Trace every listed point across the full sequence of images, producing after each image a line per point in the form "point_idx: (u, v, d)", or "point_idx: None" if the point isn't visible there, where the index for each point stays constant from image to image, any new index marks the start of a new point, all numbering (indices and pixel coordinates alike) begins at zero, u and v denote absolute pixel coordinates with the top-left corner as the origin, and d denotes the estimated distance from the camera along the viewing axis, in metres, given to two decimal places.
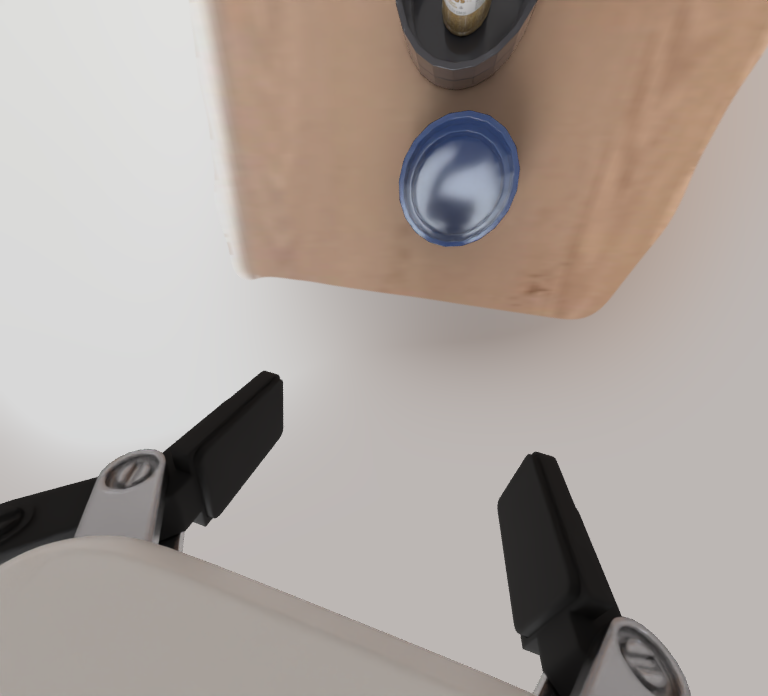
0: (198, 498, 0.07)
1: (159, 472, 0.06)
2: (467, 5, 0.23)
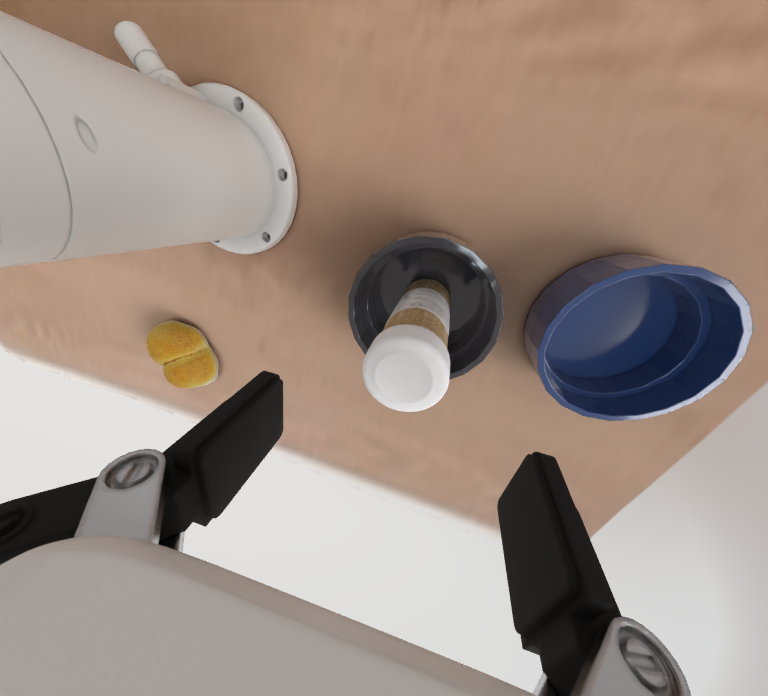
0: (198, 498, 0.07)
1: (159, 472, 0.06)
2: None
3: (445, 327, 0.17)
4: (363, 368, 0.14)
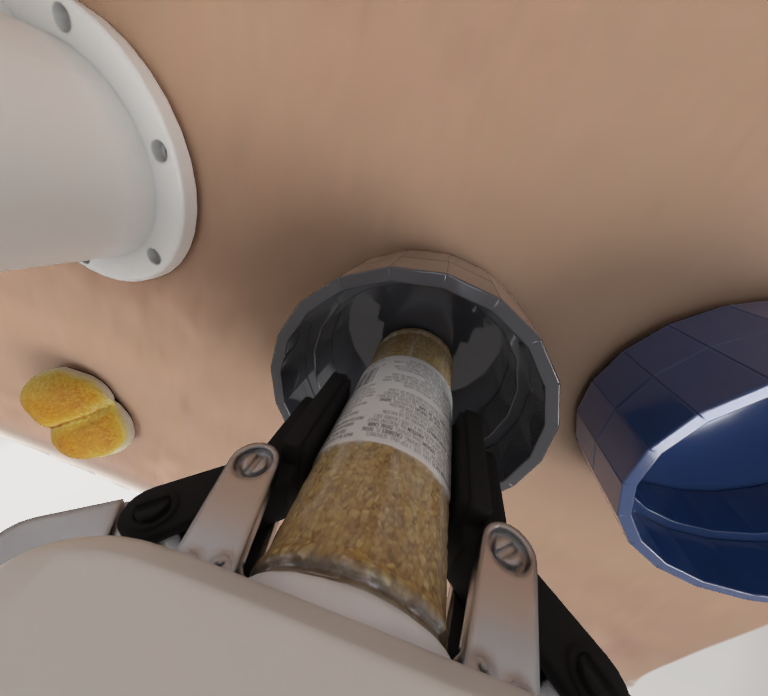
0: (296, 488, 0.08)
1: (276, 463, 0.07)
2: None
3: (443, 487, 0.07)
4: None
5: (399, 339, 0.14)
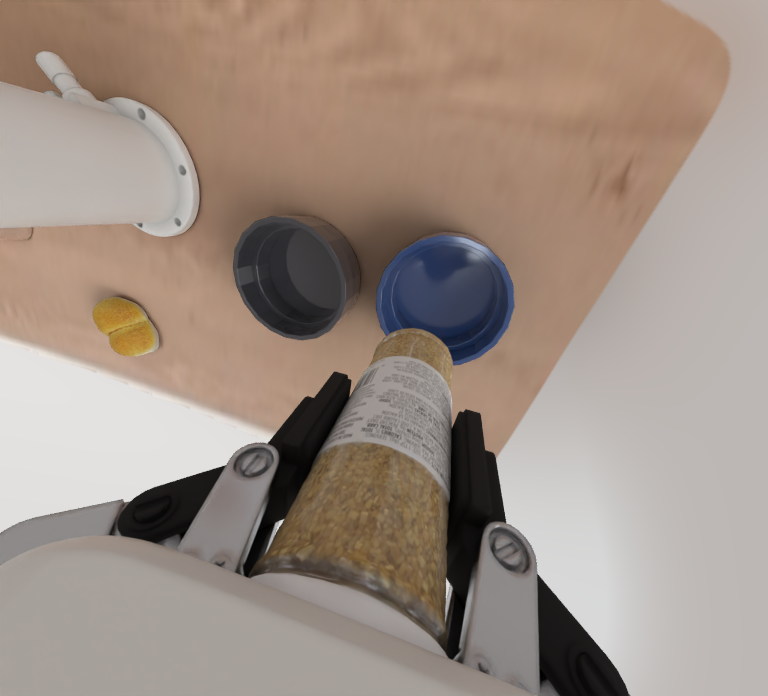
0: (296, 488, 0.08)
1: (277, 463, 0.07)
2: None
3: (442, 488, 0.07)
4: None
5: (399, 340, 0.14)
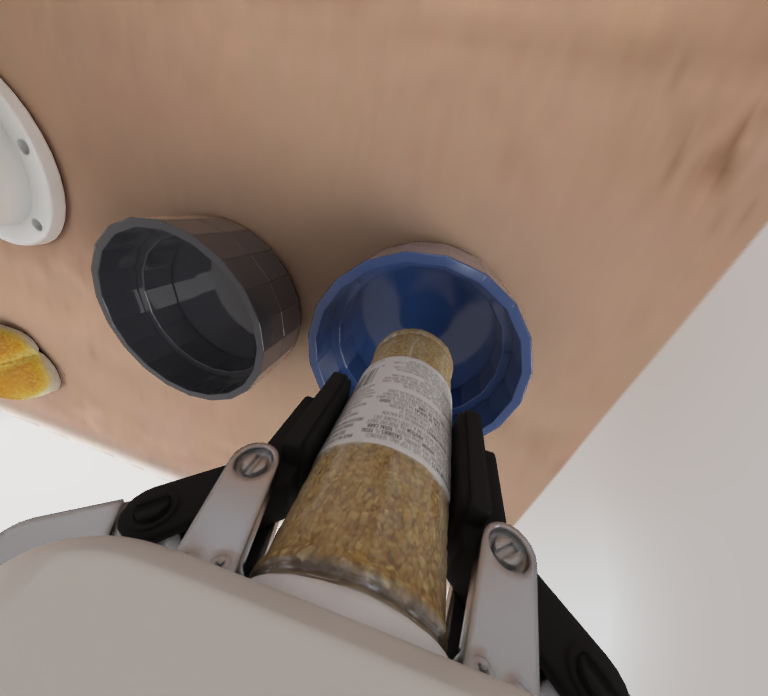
0: (296, 488, 0.08)
1: (277, 463, 0.07)
2: None
3: (443, 488, 0.07)
4: None
5: (399, 340, 0.14)
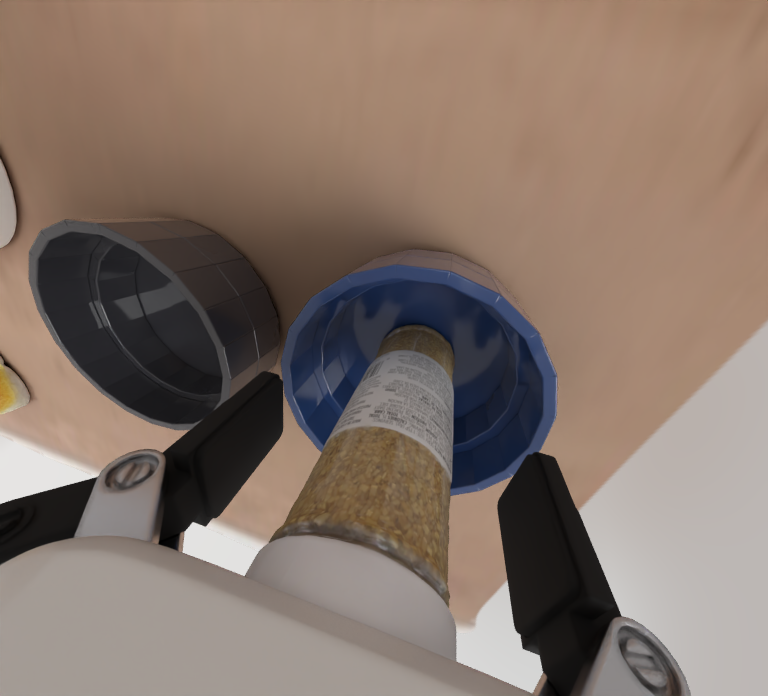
0: (198, 498, 0.07)
1: (159, 472, 0.06)
2: None
3: (445, 469, 0.08)
4: None
5: (402, 335, 0.14)
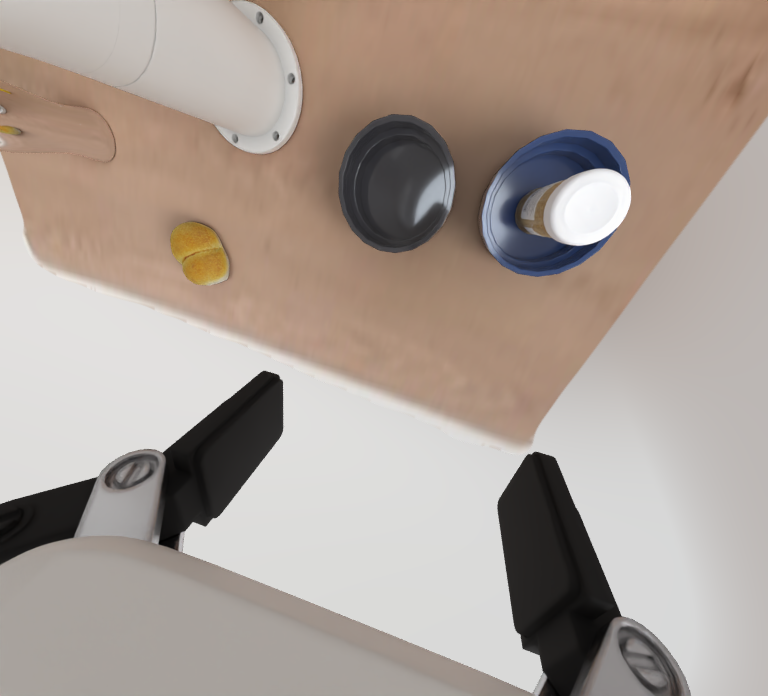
0: (198, 498, 0.07)
1: (159, 472, 0.06)
2: None
3: None
4: (555, 202, 0.18)
5: None
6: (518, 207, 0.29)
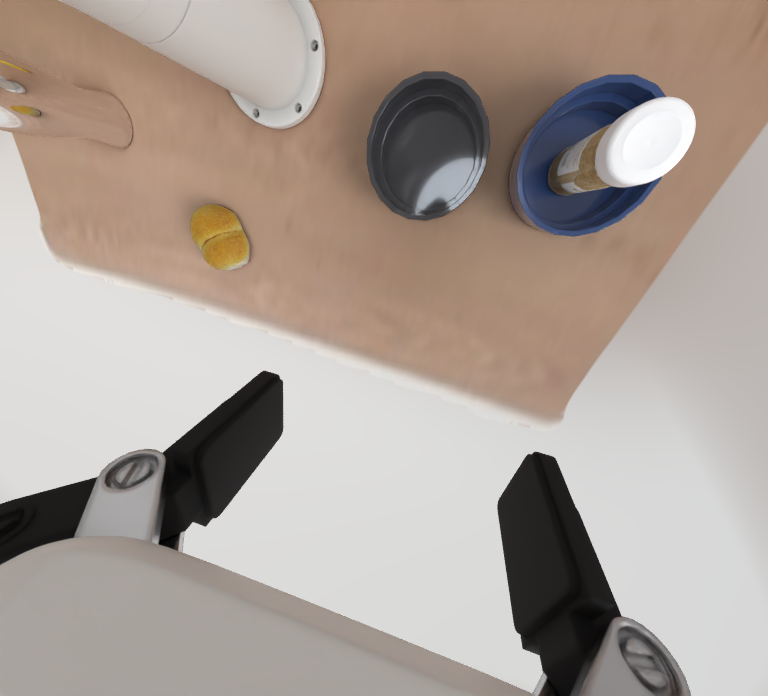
0: (198, 498, 0.07)
1: (159, 472, 0.06)
2: None
3: None
4: (613, 139, 0.17)
5: None
6: (551, 167, 0.28)
